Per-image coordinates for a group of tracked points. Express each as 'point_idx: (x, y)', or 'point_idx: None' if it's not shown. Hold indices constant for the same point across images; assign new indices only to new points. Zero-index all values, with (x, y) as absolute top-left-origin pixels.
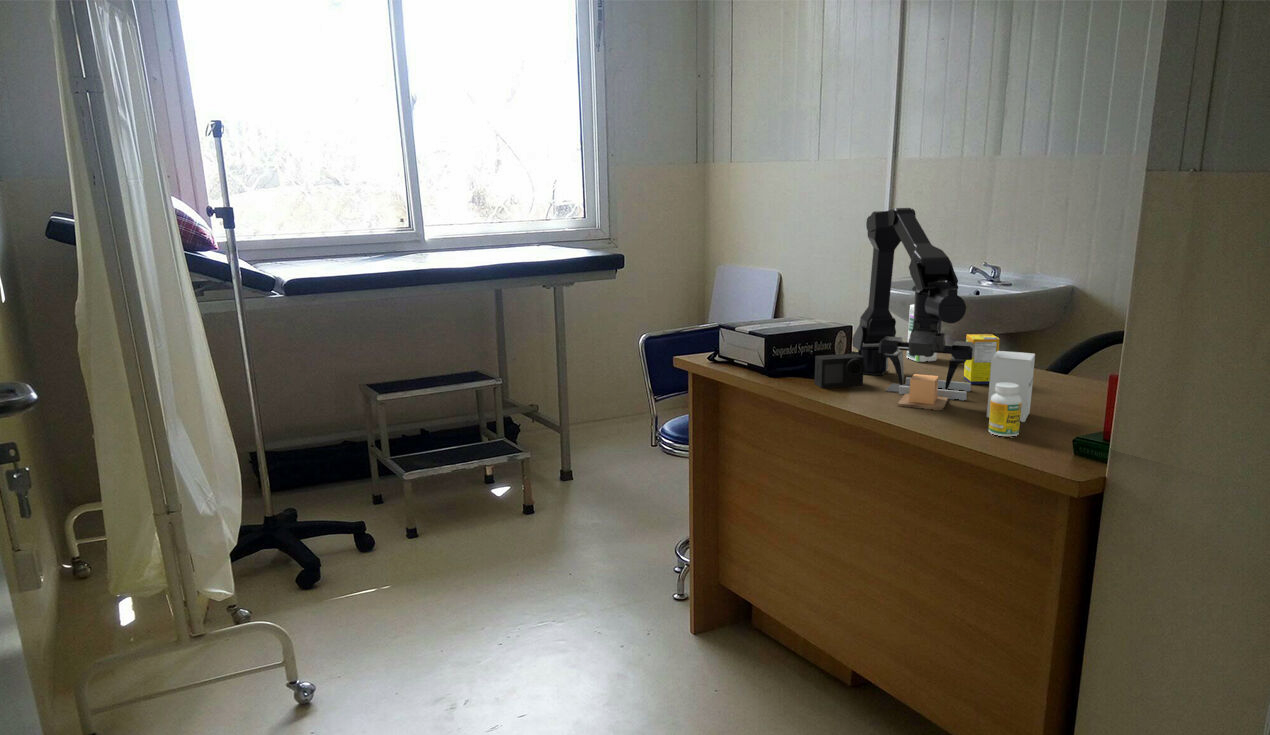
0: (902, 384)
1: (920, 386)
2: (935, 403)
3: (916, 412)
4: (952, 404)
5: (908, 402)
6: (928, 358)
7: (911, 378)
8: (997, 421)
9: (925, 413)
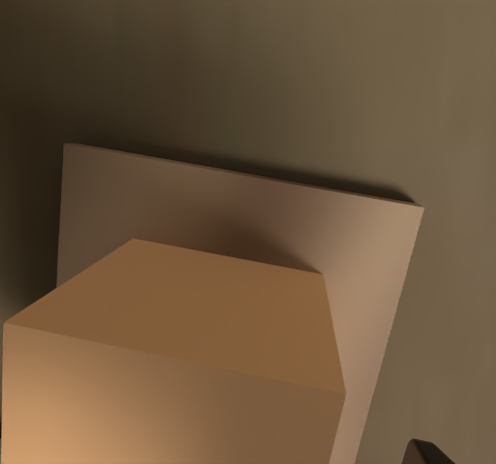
0: (407, 456)
1: (212, 318)
2: None
3: (266, 40)
4: None
5: (328, 252)
6: None
7: (325, 433)
8: None
9: (194, 27)
